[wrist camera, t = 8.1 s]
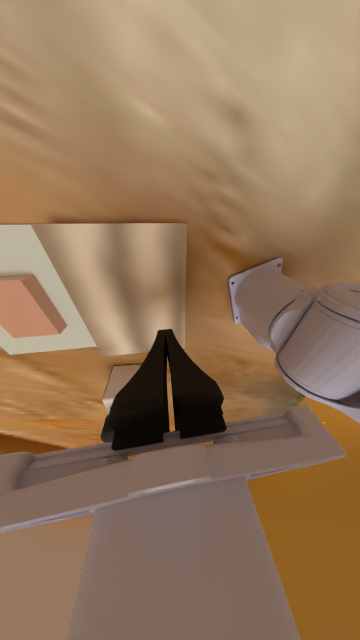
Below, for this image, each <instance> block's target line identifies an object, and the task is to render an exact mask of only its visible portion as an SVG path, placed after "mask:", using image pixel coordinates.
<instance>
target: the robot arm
mask: <svg viewBox="0 0 360 640" xmlns="http://www.w3.org/2000/svg"><path fill="white" fill-rule="evenodd" d="M282 262H283V259H282V258H276V259H274V260H271V261H269V262H266V263H264V264H261V265H259V266H256V267H254V268H251V269H249V270H246V271H244V272H241V273H239V274H236V275H234V276H231V277H230V278H229V279H228V282H229V289H230V296H231V303H232V310H233V317H234V322H235V323H236V324H237V323H240V322H241V323H242V324H243V325H244V327H245V328H246V329H247V330H248V331H249V333H250V334H251V335H252V336H253V337H254V338H255V340H256V341H257V342H258V343H259V344H260V345H262V346H263V347H265V348H268V349H270V350H273V351H274V352H275V353H276V354H277V355H276V356H275V367H276V369H277V371H278V372H279V374H280V375H281V376H282V378H283V379H284V380H285V381H286V382H287V383H288V384H289V385H291V386H292V387H293V388H294V389H296V390H297V391H299V392H300V393H302V394H303V395H305V396H307V397H309V398H311V399H313V400H316V401H318V402H321V403H324V404H327V405H329V406H331V407H334V408H336V409H337V410H339V411H341V412H343V413H344V414H346V415H347V416H349V417H351V418H352V419H354V420H355V421H357V422H358V423H360V283H355V282H339V283H334V284H331V285H327V286H323V287H321V288H316V287H314V286H311V285H308V284H306V283H303V282H301V281H298V280H295V279H293V278H290V277H288V276H285V275H282V274H281V271H282ZM278 264H279V265H278ZM277 265H278V266H277ZM232 282H233V284H231V283H232ZM167 356H168V362H169V368H170V373H171V383H172V396H173V408H174V420H175V431H173V432H170V429H169V413H168V397H167ZM223 400H224V397H223V394H222V392H221V390H220V388H219V386H218V385H217V383H216V382H215V381H214V380H213V379H212V378H210V377H209V376H208V375H207V374H205V373H204V372H203V371H202V370H201V369H200V368H199V367H198V366H197V365H196V364H195V363H194V362H193V361H192V360H191V359H190V358H189V356H188V355H187V354H186V353H185V351H184V350H183V348H182V347H181V345H180V344H179V342H178V341H177V339H176V337H175V335H174V332H173V330H172V329H163V330H158V332H157V335H156V338H155V341H154V343H153V345H152V348H151V350H150V351H149V353H148V355H147V357H146V359H145V360H144V362H143V363H142V365H141V366H140V368H139V369H138V370H137V372H136V373H135V374H134V375H133V377H132V378H131V379H130V380H129V381H128V383H127V384H126V385H125V386H124V387H123V388H122V389H121V390H120V391H119V392H118V393H117V394H116V396H115V398H114V400H113V403H112V405H111V408H110V412H109V416H108V420H107V423H108V425H109V426H110V427H111V428H112V429H113V430H114V431H115V432H114V437H113V441H112V442H108V443H102V444H96V445H90V446H84V447H78V448H72V449H66V450H61V451H54V452H48V453H43V454H36V455H34V454H33V453H31V452H17V453H11V454H5V455H0V533H3V532H7V531H12V530H16V529H21V528H26V527H30V526H35V525H40V524H45V523H50V522H54V521H59V520H64V519H69V518H74V517H79V516H83V515H88V514H93V513H95V515H94V519H93V524H92V529H91V532H90V537H89V541H88V546H87V551H86V555H85V560H84V564H83V568H82V573H81V577H80V582H79V586H78V591H77V595H76V599H75V604H74V608H73V613H72V617H71V621H70V626H69V631H68V635H67V639H66V640H301V639H300V636H299V633H298V630H297V627H296V624H295V621H294V618H293V615H292V613H291V610H290V607H289V604H288V601H287V598H286V595H285V592H284V589H283V586H282V583H281V581H280V578H279V575H278V572H277V569H276V566H275V563H274V560H273V557H272V554H271V551H270V549H269V546H268V543H267V540H266V537H265V534H264V531H263V528H262V525H261V522H260V519H259V516H258V514H257V511H256V508H255V505H254V502H253V499H252V496H251V493H250V491H249V487H248V484H247V481H246V480H249V479H253V478H257V477H262V476H266V475H270V474H275V473H279V472H284V471H288V470H293V469H297V468H301V467H306V466H310V465H315V464H319V463H323V462H327V461H330V460H334V459H338V458H341V457H345V456H347V453H346V452H345V451H344V449H343V448H342V447H341V446H340V445H339V443H338V442H337V441H336V440H335V439H334V437H333V436H332V435H331V434H330V433H329V431H328V430H327V429H326V428H325V426H324V425H323V424H322V423H321V422H320V420H319V419H318V418H317V417H316V416H315V415H314V413H313V412H312V411H311V410H310V408H309V407H308V406H306V405H303V406H297V407H292V408H289V409H287V410H286V411H285V412H284V413H281V414H275V415H269V416H263V417H257V418H251V419H245V420H239V421H233V422H227V423H225V421H224V418H223V416H222V415H223V412H222V409H221V405H222V403H223ZM209 441H213V444H210V445H203V444H198V443H204V442H209ZM137 454H138V455H137ZM132 455H136V456H134V457H133V458H132V459H129V460H128V457H126V456H132Z"/></svg>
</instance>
